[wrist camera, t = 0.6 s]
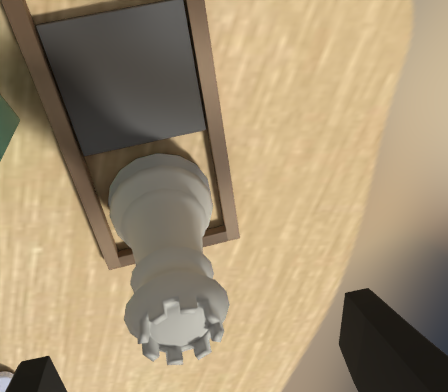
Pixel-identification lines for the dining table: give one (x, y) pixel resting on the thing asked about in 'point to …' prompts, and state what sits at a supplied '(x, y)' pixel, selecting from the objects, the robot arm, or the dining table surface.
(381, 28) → the dining table surface
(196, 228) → the rook chess piece
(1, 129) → the green die
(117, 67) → the track board
